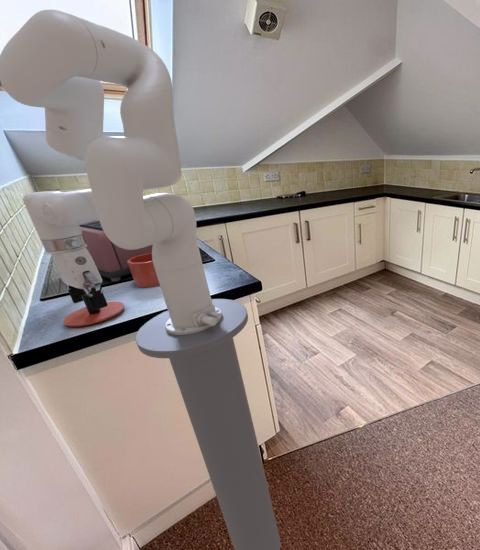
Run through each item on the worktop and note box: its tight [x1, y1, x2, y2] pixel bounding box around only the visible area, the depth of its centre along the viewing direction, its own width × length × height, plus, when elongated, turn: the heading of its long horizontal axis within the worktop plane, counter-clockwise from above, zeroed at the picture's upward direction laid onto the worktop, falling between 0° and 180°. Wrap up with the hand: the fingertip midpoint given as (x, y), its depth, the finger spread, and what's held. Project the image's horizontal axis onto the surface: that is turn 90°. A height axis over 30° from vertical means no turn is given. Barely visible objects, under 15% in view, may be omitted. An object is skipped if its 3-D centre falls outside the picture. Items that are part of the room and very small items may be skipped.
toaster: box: [79, 221, 153, 283], centre depth 120 cm, size 31×36×18 cm
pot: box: [127, 253, 160, 288], centre depth 102 cm, size 12×12×8 cm
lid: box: [63, 293, 125, 327], centre depth 80 cm, size 13×13×7 cm
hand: (90, 304), depth 80 cm, fingers open, 9 cm apart
